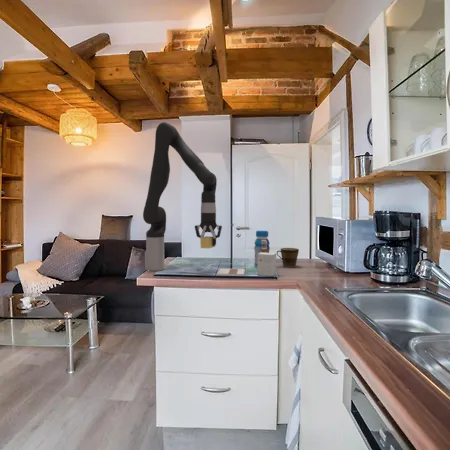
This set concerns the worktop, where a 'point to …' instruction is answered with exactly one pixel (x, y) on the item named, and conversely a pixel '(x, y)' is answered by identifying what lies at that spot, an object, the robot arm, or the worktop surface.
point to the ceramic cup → (289, 257)
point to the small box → (266, 264)
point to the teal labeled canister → (261, 244)
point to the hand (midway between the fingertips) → (208, 245)
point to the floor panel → (231, 272)
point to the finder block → (207, 242)
